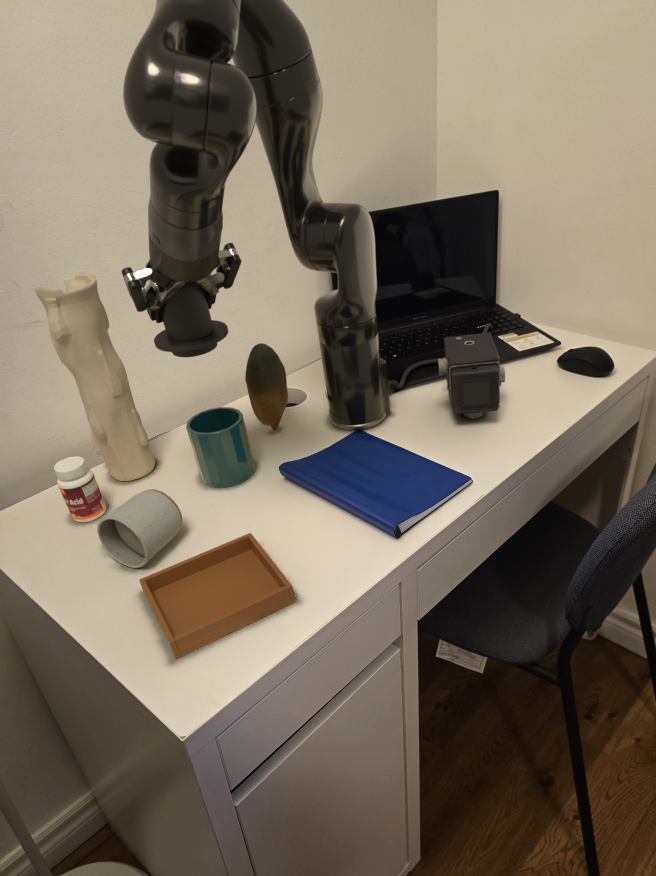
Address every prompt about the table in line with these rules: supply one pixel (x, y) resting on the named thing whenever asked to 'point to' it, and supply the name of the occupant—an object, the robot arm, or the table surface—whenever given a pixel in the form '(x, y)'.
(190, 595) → the tray
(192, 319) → the flanged dark cylinder
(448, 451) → the table surface
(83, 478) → the pill bottle
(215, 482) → the cup
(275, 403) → the decorative stone
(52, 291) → the vase
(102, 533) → the ceramic mug
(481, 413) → the camera
